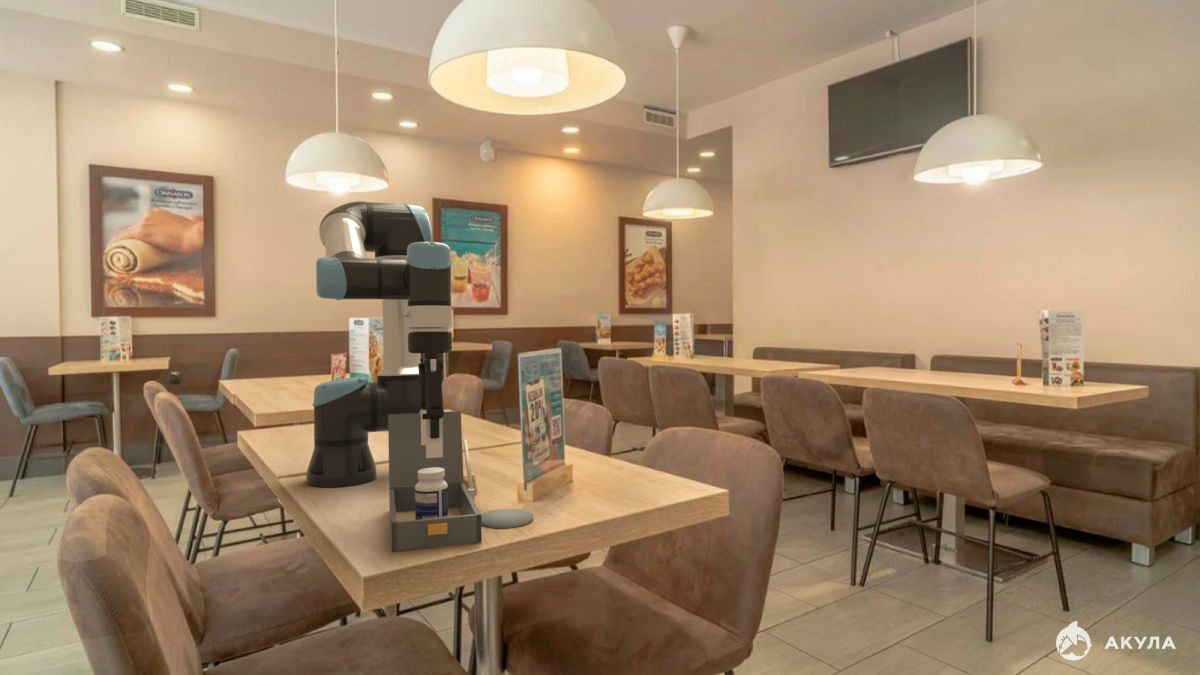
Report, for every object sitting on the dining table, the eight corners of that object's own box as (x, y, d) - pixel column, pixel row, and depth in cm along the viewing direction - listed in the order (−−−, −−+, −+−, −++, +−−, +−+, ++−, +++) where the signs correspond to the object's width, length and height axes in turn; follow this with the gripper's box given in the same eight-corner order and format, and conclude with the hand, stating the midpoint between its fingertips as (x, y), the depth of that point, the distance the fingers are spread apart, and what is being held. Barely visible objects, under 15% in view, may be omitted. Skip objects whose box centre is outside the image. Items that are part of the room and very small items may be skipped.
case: (389, 505, 131) (388, 414, 130) (466, 499, 135) (465, 410, 135) (392, 553, 103) (390, 437, 103) (488, 542, 108) (487, 431, 108)
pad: (474, 515, 124) (474, 511, 124) (526, 509, 127) (526, 506, 127) (482, 530, 114) (482, 527, 114) (538, 524, 118) (538, 521, 118)
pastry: (432, 499, 136) (432, 481, 136) (432, 491, 143) (432, 474, 143) (478, 496, 138) (478, 478, 138) (476, 488, 145) (476, 471, 145)
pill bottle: (435, 519, 122) (434, 465, 121) (455, 524, 118) (454, 469, 118) (408, 526, 117) (408, 470, 117) (428, 532, 114) (427, 475, 113)
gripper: (405, 331, 128) (406, 441, 128) (411, 330, 104) (412, 465, 104) (444, 330, 130) (446, 438, 130) (459, 329, 106) (461, 461, 106)
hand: (431, 450), depth 117 cm, fingers open, 13 cm apart
